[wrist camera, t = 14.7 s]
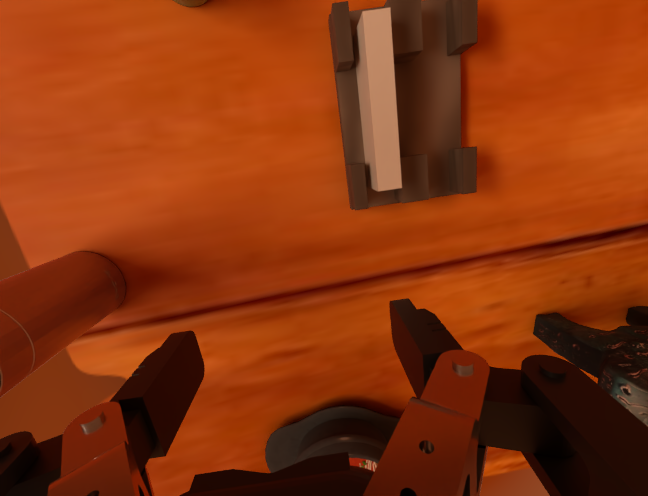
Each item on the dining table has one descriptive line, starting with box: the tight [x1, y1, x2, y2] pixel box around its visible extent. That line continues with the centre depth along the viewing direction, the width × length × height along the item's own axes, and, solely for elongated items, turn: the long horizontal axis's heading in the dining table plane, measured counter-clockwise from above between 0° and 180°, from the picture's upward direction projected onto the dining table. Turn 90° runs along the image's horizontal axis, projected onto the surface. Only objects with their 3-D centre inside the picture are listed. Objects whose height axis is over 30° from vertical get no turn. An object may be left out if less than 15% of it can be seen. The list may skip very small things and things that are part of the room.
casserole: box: [266, 406, 400, 473], centre depth 46 cm, size 25×19×8 cm
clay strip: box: [353, 8, 402, 191], centre depth 32 cm, size 2×16×6 cm, turn 8°
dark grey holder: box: [329, 0, 477, 210], centre depth 34 cm, size 14×21×5 cm, turn 8°
